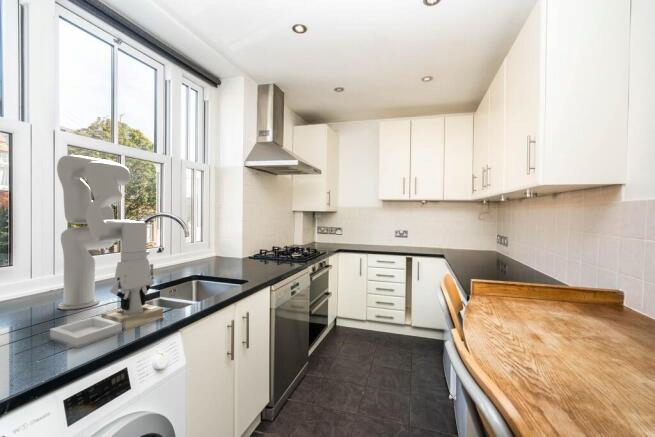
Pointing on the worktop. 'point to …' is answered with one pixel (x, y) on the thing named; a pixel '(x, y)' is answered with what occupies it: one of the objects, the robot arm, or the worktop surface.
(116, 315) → the birch holder
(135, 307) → the salt shaker
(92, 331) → the grey tray
